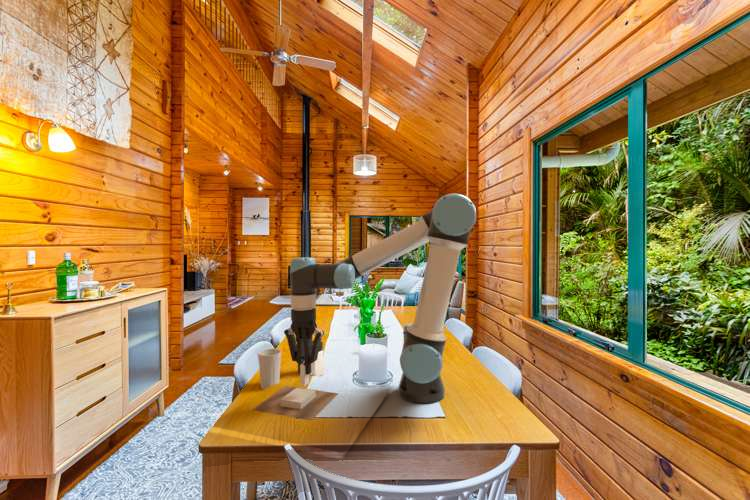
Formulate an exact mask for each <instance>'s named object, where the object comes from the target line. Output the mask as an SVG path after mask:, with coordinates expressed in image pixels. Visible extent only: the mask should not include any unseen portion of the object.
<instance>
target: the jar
mask: <svg viewBox="0 0 750 500" xmlns="http://www.w3.org/2000/svg"><path fill="white" fill-rule="evenodd" d="M313 342H314V339H312V347H313ZM323 345H324V343H323V341H321V342H320V347H319V352H318V357H317V360H316V361H315V362H313V363H311V373H310V374H309V377H310V376H311V377H318V378H320V377H322V376H324V373H325V368H324V365H325V364H324V363H325V362H324V361H325V360H324V349H323V347H324V346H323Z"/></svg>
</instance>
